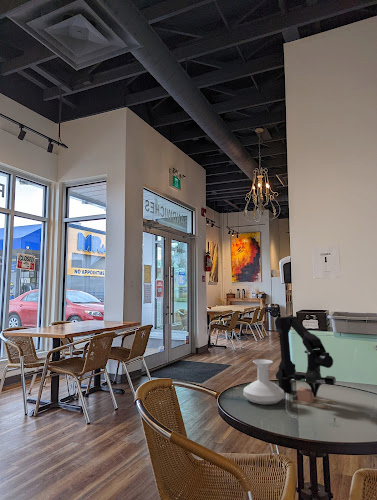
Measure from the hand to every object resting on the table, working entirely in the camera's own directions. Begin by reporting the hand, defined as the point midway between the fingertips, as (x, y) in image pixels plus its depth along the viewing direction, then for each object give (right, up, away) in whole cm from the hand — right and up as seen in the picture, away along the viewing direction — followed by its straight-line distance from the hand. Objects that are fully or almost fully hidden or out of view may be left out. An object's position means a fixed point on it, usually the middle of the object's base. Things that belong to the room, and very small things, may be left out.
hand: (315, 396), depth 176 cm
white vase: (-24, -5, +5) cm, 25 cm away
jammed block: (-4, -4, +2) cm, 6 cm away
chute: (-1, -4, 0) cm, 4 cm away
